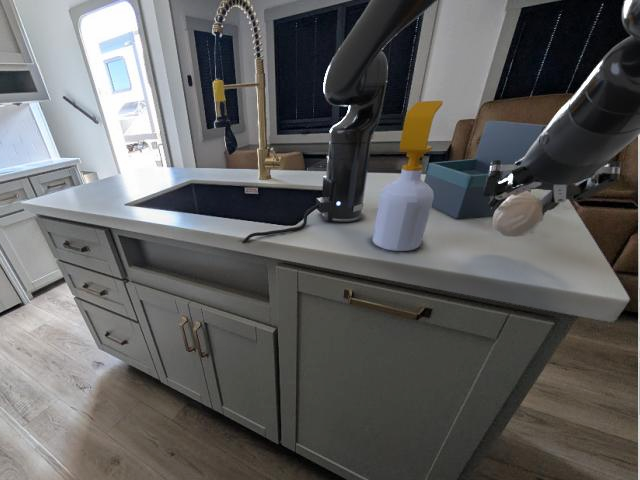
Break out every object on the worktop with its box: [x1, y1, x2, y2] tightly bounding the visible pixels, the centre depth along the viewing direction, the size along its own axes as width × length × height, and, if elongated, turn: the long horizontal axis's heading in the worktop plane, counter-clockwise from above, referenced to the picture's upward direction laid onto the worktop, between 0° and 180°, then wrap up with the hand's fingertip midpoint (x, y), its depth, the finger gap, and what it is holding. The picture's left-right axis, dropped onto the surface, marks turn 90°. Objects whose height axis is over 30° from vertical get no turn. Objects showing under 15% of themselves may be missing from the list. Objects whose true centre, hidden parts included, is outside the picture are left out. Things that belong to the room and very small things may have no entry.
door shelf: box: [423, 120, 548, 220], centre depth 73 cm, size 14×16×18 cm
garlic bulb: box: [492, 189, 546, 238], centre depth 50 cm, size 7×6×8 cm
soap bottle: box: [372, 100, 443, 252], centre depth 57 cm, size 9×9×25 cm
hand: (517, 205), depth 51 cm, fingers closed on garlic bulb, 5 cm apart
